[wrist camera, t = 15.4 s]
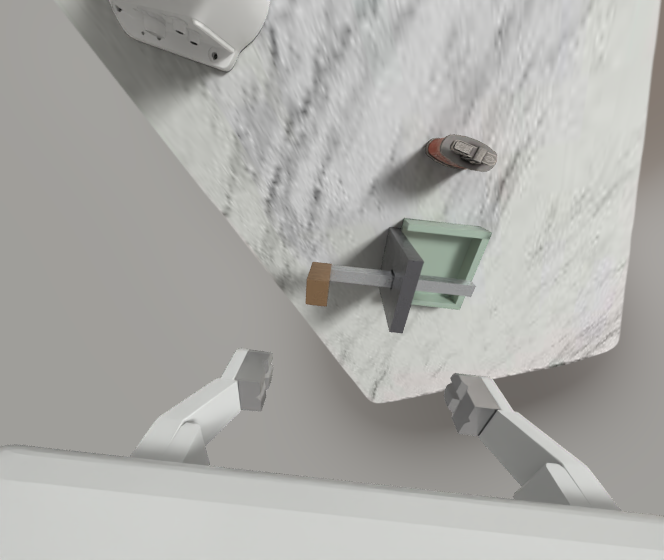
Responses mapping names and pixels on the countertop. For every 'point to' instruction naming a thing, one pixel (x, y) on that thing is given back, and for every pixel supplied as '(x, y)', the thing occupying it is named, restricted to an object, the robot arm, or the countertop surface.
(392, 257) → the bearing plate
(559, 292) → the countertop surface
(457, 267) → the tray
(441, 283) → the shaft
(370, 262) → the countertop surface
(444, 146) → the lighter
